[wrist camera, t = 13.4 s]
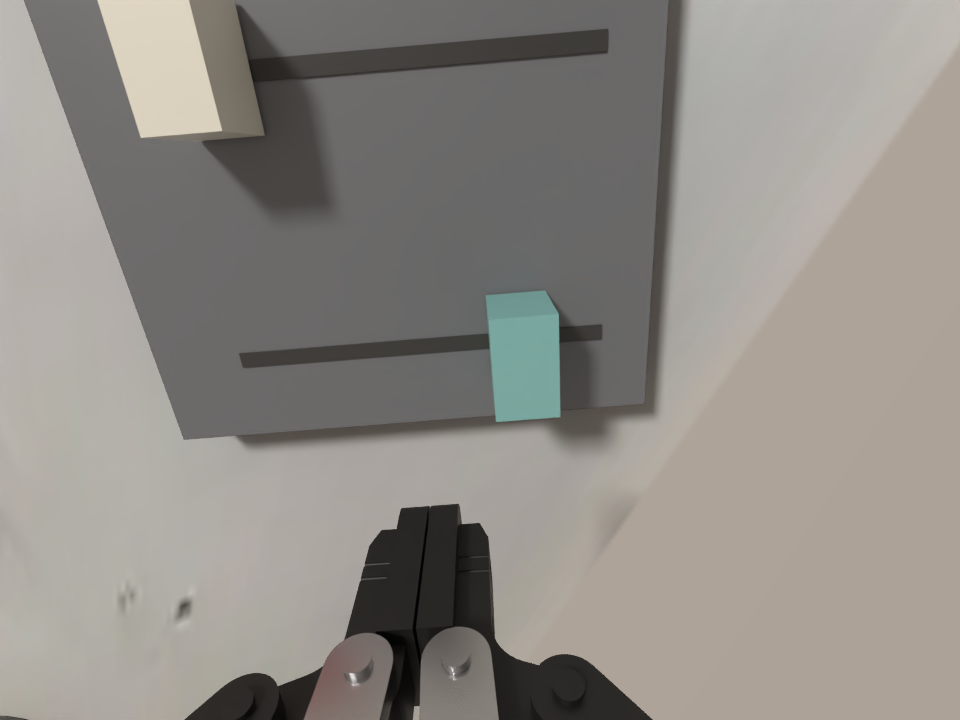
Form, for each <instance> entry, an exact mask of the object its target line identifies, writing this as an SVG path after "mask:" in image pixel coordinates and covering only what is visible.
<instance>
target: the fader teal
mask: <svg viewBox="0 0 960 720" xmlns="http://www.w3.org/2000/svg"><path fill="white" fill-rule="evenodd" d="M486 308H487V321H488V335H489V348H490V361H491V375H492V387H493V397H494V407H495V417H496V422H503V421H516V420H529V419H542V418H555V417H560V359H559V314H558V312H557V310H556V308H555V307H554V305H553V303H552V301H551V300H550V298H549V296H548V294H547V293H546V291H545V290H544V291H532V292H519V293H507V294H495V295H486Z"/></svg>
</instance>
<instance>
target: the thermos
mask: <svg viewBox="0 0 960 720" xmlns="http://www.w3.org/2000/svg"><path fill="white" fill-rule="evenodd" d="M0 720H25V719H20V718H14V717H8V716H2V717H0Z"/></svg>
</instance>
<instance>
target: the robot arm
mask: <svg viewBox="0 0 960 720" xmlns="http://www.w3.org/2000/svg"><path fill="white" fill-rule="evenodd" d="M414 706H420V715H419V720H652V719H651V718H650V717H649V716H648V715H647V714H646V713H644V711H643V710H641V709H640V708H639V707H638V706H637V705H636V704H635V703H634V702H632V700H630V699H629V698H628V697H627V696H626V695H625V694H624V693H623V692H622V691H620V690H619V689H618V688H617V687H616V686H615V685H614V684H613V683H612V682H611V681H609V680H608V679H607V678H606V677H605V676H604V675H603V674H602V673H601V672H600V671H598V670H597V669H596V668H595V667H594V666H593V665H591V664H590V663H589V662H588V661H586V660H584V659H583V658H580V657H577V656H574V655H568V654H561V655H555V656H552V657H550V658H548V659H546V660H544V661H543V662H542V663H541V664H540V665H535V664H532V663H528V662H524V661H521V660H518V659H516V658H514V657H512V656H510V655H509V654H507V653H506V652H505V651H504V650H503V649H502V648H501V647H500V646H499V645H498V643H497V642H496V640H495V630H494V607H493V585H492V572H491V562H490V551H489V541H488V536H487V535H486V533H485V531H484V530H483V528H482V526H481V525H480V523H474V524H462V522H461V513H460V506H459V504H451V505H437V506H431V508H430V506H425V507H411V508H402V509H401V511H400V515H399V520H398V525H397V529H392V530H381V532H380V533H379V534H378V536H377V537H376V538H375V539H374V541H373V542H372V543H371V545H370V546H369V550H368V553H367V557H366V561H365V567H364V569H363V572H362V576H361V581H360V584H359V587H358V591H357V595H356V599H355V602H354V606H353V610H352V614H351V618H350V621H349V625H348V629H347V633H346V636H345V639H344V641H342V642H341V643H339V644H338V645H337V646H336V647H335V648H334V649H333V650H332V652H331V653H330V654H329V656H328V657H327V659H326V661H325V663H324V666H323V667H321V668H320V669H318V670H317V671H315V672H313V673H311V674H309V675H306V676H304V677H301V678H299V679H296V680H293V681H291V682H288V683H286V684H283V685H280V686H277V684H276V682H275V681H274V679H273V678H271V677H270V676H268V675H266V674H261V673H252V674H247V675H244V676H241V677H239V678H236V679H234V680H233V681H231V682H229V683H228V684H226V685H225V686H224V687H222V688H221V689H220V690H219V691H218V692H216V693H215V694H214V695H213V696H212V697H211V698H209V699H208V700H207V701H206V702H205V703H204V704H202V705H201V706H200V707H199V708H198V709H197V710H195V711H194V712H193V713H192V714H191V715H189V716H188V717H187V718H186V719H185V720H413V712H414Z"/></svg>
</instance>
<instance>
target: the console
mask: <svg viewBox="0 0 960 720" xmlns="http://www.w3.org/2000/svg"><path fill="white" fill-rule="evenodd" d="M234 1H235V5H236V10H237V14H238V19H239V23H240V27H241V32H242V36H243V41H244V45H245V50H246V54H247V58H248V63H249V67H250V72H251V76H252V81H253V85H254V89H255V94H256V98H257V103H258V107H259V112H260V116H261V120H262V125H263V129H264V134H265V136H254V137H242V138H230V139H219V140H207V141H184V140H167V139H150V138H141V137H140V134H139V131H138V127H137V124H136V121H135V118H134V115H133V112H132V108H131V105H130V102H129V99H128V96H127V93H126V89H125V86H124V83H123V80H122V77H121V74H120V70H119V67H118V64H117V61H116V58H115V55H114V51H113V48H112V45H111V42H110V39H109V36H108V32H107V29H106V26H105V23H104V20H103V17H102V13H101V10H100V7H99V4H98V1H97V0H24V2H25V5H26V7H27V10H28V13H29V16H30V18H31V21H32V24H33V27H34V29H35V32H36V35H37V38H38V40H39V43H40V46H41V48H42V51H43V54H44V57H45V59H46V62H47V65H48V68H49V70H50V73H51V76H52V79H53V81H54V84H55V87H56V90H57V92H58V95H59V98H60V101H61V103H62V106H63V109H64V112H65V114H66V117H67V120H68V123H69V125H70V128H71V131H72V134H73V136H74V139H75V142H76V145H77V147H78V150H79V153H80V156H81V158H82V161H83V164H84V167H85V169H86V172H87V175H88V178H89V180H90V183H91V186H92V189H93V191H94V194H95V197H96V200H97V202H98V205H99V208H100V211H101V213H102V216H103V219H104V221H105V224H106V227H107V230H108V232H109V235H110V238H111V241H112V243H113V246H114V249H115V252H116V254H117V257H118V260H119V263H120V265H121V268H122V271H123V274H124V276H125V279H126V282H127V285H128V287H129V290H130V293H131V296H132V298H133V301H134V304H135V307H136V309H137V312H138V315H139V318H140V320H141V323H142V326H143V329H144V331H145V334H146V337H147V340H148V342H149V345H150V348H151V351H152V353H153V356H154V359H155V362H156V364H157V367H158V370H159V373H160V375H161V378H162V381H163V384H164V386H165V389H166V392H167V394H168V397H169V400H170V403H171V405H172V408H173V411H174V414H175V416H176V419H177V422H178V425H179V427H180V430H181V433H182V436H183V438H184V440H187V439H199V438H212V437H225V436H238V435H251V434H264V433H276V432H289V431H302V430H315V429H328V428H340V427H353V426H366V425H379V424H392V423H405V422H417V421H430V420H443V419H456V418H469V417H481V416H494V415H495V407H494V397H493V387H492V375H491V361H490V348H489V335H488V321H487V308H486V295H495V294H507V293H519V292H532V291H544V290H545V291H546V293H547V294H548V296H549V298H550V300H551V301H552V303H553V305H554V307H555V308H556V310H557V312H558V314H559V359H560V410H571V409H584V408H597V407H610V406H622V405H635V404H644V403H645V386H646V369H647V353H648V336H649V319H650V303H651V286H652V270H653V253H654V236H655V220H656V203H657V186H658V170H659V153H660V136H661V120H662V103H663V86H664V70H665V53H666V36H667V20H668V3H669V0H234Z"/></svg>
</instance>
